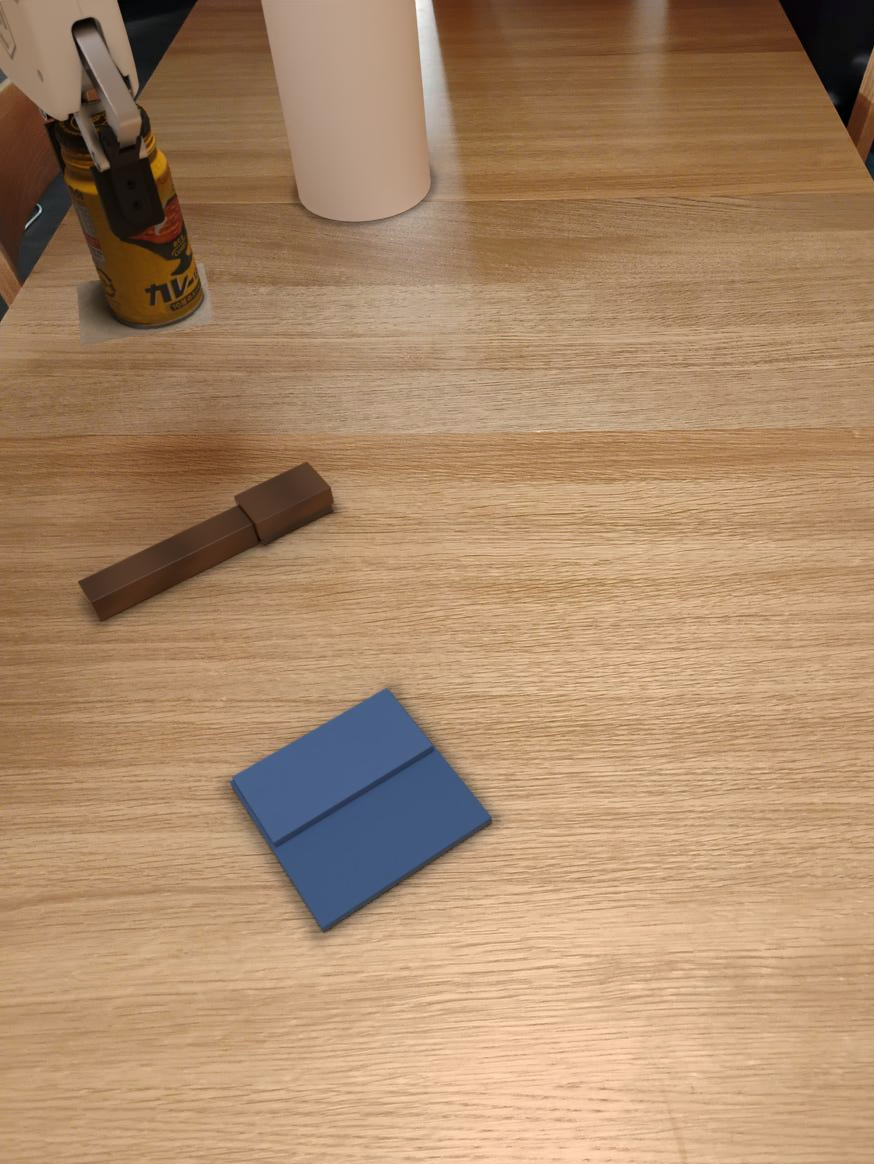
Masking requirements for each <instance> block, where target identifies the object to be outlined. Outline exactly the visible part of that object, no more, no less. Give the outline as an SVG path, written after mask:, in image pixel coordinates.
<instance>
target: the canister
mask: <svg viewBox="0 0 874 1164" xmlns="http://www.w3.org/2000/svg"><path fill="white" fill-rule="evenodd" d="M261 7H262V12H263V17H264V22H265V28H266V33H267V38H268V43H269V48H270V53H271V58H272V63H273V69H274V74H275V79H276V85H277V90H278V95H279V101H280V105H281V111H282V116H283V121H284V126H285V132H286V136H287V142H288V148H289V152H290V157H291V163H292V167H293V173H294V178H295V183H296V189H297V194H298V199H299V201H300V203H301V204H302V205H303V207H304V208H305V209H306V210H307V211H309V212H310V213H312V214H314V215H316V216H319V217H322V218H325V219H329V220H332V221H338V222H339V221H340V222H350V223H351V222H352V223H354V222H355V223H357V222H359V223H360V222H370V221H377V220H382V219H387V218H391V217H394V216H397V215H399V214H402V213H404V212H406V211H408V210H410V209H412V208H414V207H415V206H417V205H418V204H420V203H421V202H422V201H423V200H424V199H425V197H426V196H427V195H428V194H429V192H430V189H431V185H432V184H431V183H432V181H431V168H430V158H429V157H430V156H429V145H428V134H427V122H426V111H425V99H424V87H423V74H422V63H421V50H420V39H419V27H418V16H417V15H418V14H417V3H416V0H261Z"/></svg>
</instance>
